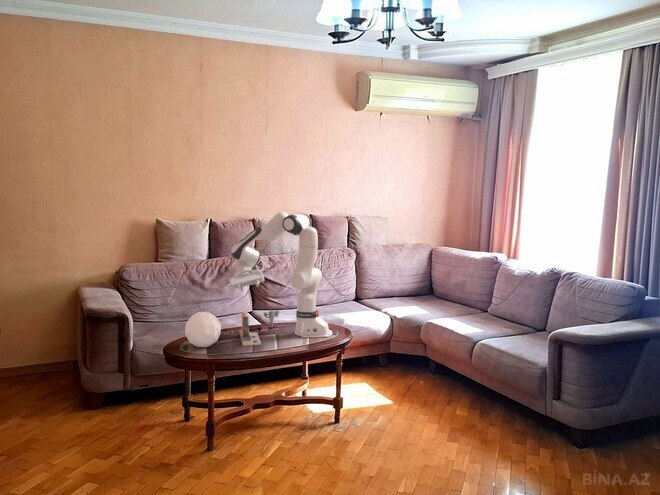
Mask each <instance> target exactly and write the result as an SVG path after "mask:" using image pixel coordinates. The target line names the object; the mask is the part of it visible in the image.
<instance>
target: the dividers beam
mask: <svg viewBox="0 0 660 495" xmlns="http://www.w3.org/2000/svg"><path fill="white" fill-rule="evenodd" d="M249 333H250V329H249V316H248V315H247V316H244V317H243V335H241V336H240V335H239V337H240V340H241V343H242V346H244V347H248V346H250V347H251V345H250V341H251V336H250V335H249Z"/></svg>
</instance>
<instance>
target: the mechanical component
mask: <svg viewBox="0 0 660 495" xmlns="http://www.w3.org/2000/svg"><path fill="white" fill-rule="evenodd" d="M279 314H280V310H276V309H275V310H269V311H268V312H267V311H265V312H264V313H263V315H264V316H263V317H264V318H265V319H269V324H270V328H273V327H274V320H275V319H274V318H278V317H279Z"/></svg>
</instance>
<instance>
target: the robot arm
mask: <svg viewBox="0 0 660 495" xmlns="http://www.w3.org/2000/svg"><path fill="white" fill-rule="evenodd" d="M312 223H313V222H312V219H311V217H310V215H308V214H306V213H292V214H288V213H287V212H285V211H280V212H277V213H276V214H275V215H274V216H273V217H272V218H270V219H269V221H268V222H267V223H266V224H264V225H262V226H258V227H256V228H253V230H251V231H250V232H249V233H248V234H246V235H245V237H243V238H242V239H241V240H240V241H238V242H236V243H234V245H232V246H231V248H230V255H231V257H232V259H234V269H235V272H236V274H237V276H234V277H233V276H232V277H231V278H229V279H228V281H229V283H230V288H231V289H232V290H234V289H238V290H240V292H243V291H244V289H243V288H244V287H247V286H251V285H255V287H256V288H259V287H260V283H261V284H262V283H264V282H265V276H264V273H263V271H261V270H260V269H259V267H258V266H257V265H258V264H259V262H260V260H261V255H260V252H259V251H258V250H256V249H254V248H252V247H250V245H251V244H252V243H254V242H255V241H259V240H260V241H261V240H263V241H264V240H265V241H270V242H274V241H277V240H278V239H280V238H281V237H282V235H283V234H284V233H285V232H287V233H289V234H292V235H293V236H298V238H299V242H298V255H297V260H296V263H295V264H296V265H295V268H294V271H293V273H292V274H291V275H290V278H289V283H290V285H291V286H292V288H295V289H296V290H300V291H299V293H298V294H297V298H296V301H297V302H296V304H297V305H296V312H295V315H296V317H295V318H296V324H295V325H296V326H295V331H294V335H296V336H298V337H301V338H303V339H304V338H328V337H331V336H333V331H332V330H331V329H329V324H328V322H327V321H326V320H324V319H323V318H322V317H321V316H320V310H317V309H316V308H317V306H316V304H317V294H318V293H317V292H318V289H319V285H320V282H321V281H322V278H323V274H322V271H321V270H320V269H319V268H317V267H314V266H315V264H316V262H317V260H318V251H319V250H318V249H319V239H318V238H319V237H318V235H319V234H318V231H317V229H316V228H315V227H313V226H312Z"/></svg>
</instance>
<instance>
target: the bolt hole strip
mask: <svg viewBox="0 0 660 495" xmlns="http://www.w3.org/2000/svg"><path fill="white" fill-rule="evenodd" d="M249 335H250V336H251V341H250V346H261V345H262V341H261V339H260V336H259V333H258V332H255V331H254V332H251V331H250V332H249Z"/></svg>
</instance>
